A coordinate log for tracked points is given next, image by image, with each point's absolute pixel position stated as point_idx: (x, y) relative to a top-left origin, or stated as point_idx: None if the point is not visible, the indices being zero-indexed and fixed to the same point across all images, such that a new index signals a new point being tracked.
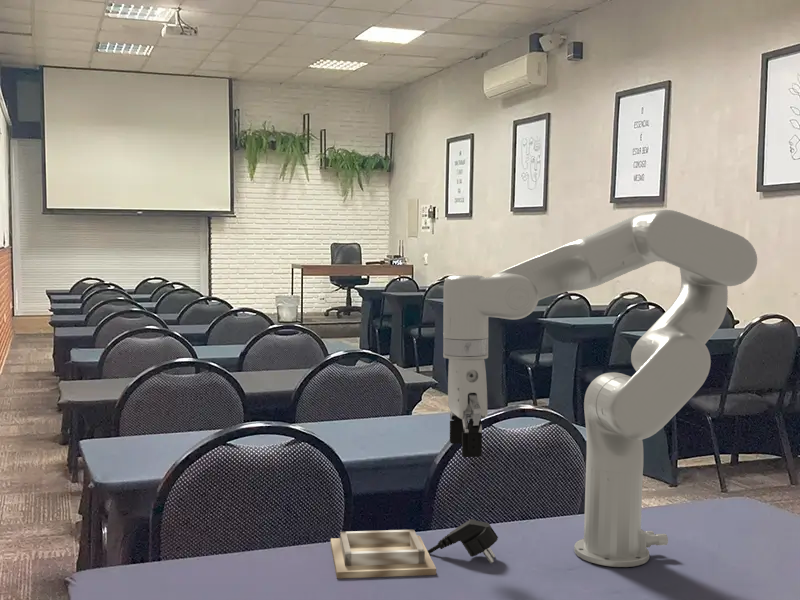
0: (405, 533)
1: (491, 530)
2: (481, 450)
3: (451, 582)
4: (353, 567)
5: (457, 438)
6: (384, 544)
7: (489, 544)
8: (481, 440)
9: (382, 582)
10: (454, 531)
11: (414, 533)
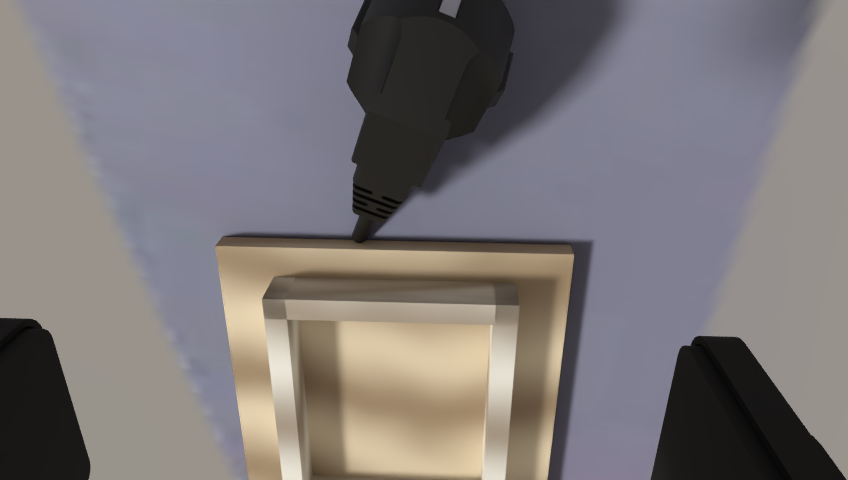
0: (289, 328)
1: (466, 13)
2: (762, 374)
3: (648, 208)
4: (512, 477)
5: (46, 461)
6: (312, 374)
7: (511, 31)
8: (835, 478)
9: (594, 403)
10: (398, 181)
11: (310, 305)
